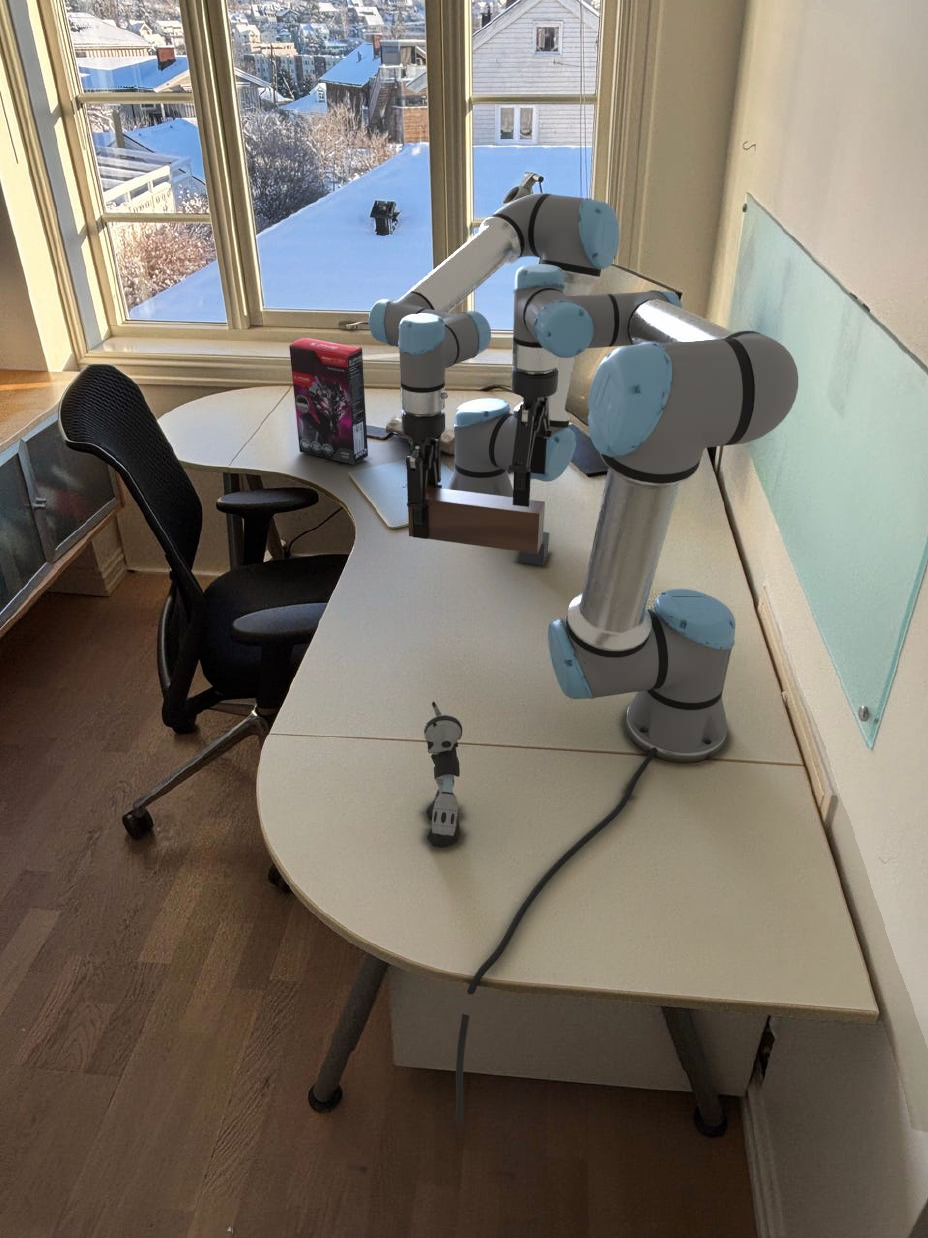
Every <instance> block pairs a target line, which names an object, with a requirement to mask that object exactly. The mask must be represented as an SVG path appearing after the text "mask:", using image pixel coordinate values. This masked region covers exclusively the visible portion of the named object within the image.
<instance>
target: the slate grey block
mask: <svg viewBox="0 0 928 1238" xmlns="http://www.w3.org/2000/svg"><path fill="white" fill-rule="evenodd" d="M549 543H550V532H547V531H543V541H542V544H541V546H540V549H539V551H538V553H537V554H533V553H526V552H519V551H518V552H519V553H518V563H520V564H527V565H535V566H541V567H543V566H544V565H545V563H546V561H547V557H548V555H549V545H550V544H549Z"/></svg>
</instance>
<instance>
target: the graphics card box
mask: <svg viewBox="0 0 928 1238" xmlns="http://www.w3.org/2000/svg"><path fill="white" fill-rule="evenodd" d="M288 348H289V357H290V367H291V377H292V389H293V396H294V397H293V399H294V408H295V418H296V419H295V420H296V428H297V429H296V431H297V437H298V439H297V441H298V449H299V453H303V454H307V455H312V456H316V457H319V458H324V459H329V460H333V461H336V462H342V463H346V464H350V465H356V464H358V463H359V462H361V461H362V460H364V459H366V458H367V457H369V447H368V446H369V445H368V431H367V429H368V428H367V414H366V397H365V377H364V376H365V375H364V360H363V358H364V357H363V356H364V355H363V347H362V346H352V345H347V344H341V343H337V342H330V341H325V340H320V339H314V338H309V337H302V338H299V339H297V340H295V341H293V342H292V343H291V344H290V345H289V346H288Z"/></svg>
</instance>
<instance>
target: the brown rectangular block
mask: <svg viewBox="0 0 928 1238" xmlns="http://www.w3.org/2000/svg"><path fill="white" fill-rule="evenodd" d="M426 505H428V539H427V540H434V541H441V542H447V543H456V544H462V545H469V546H476V547H484V548H491V549H499V550H505V551H512V552H526V553H533V554H537V553H538V551H539V549H540V546H541V544H542V541H543V532H544V526H545V513H546V512H545V511H546V501H544V500H536V499H530V502H529V507H524V506H516V505H513V497H505V496H497V495H489V494H481V493H473V492H465V491H458V490H450V489H448V488H443V487H442V488H434V487H427V494H426ZM407 518H408V519H407V520H408V521H407V522H408V537H410V538H411V537H412V538H414V537H413V516H412V508H408V507H407Z"/></svg>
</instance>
